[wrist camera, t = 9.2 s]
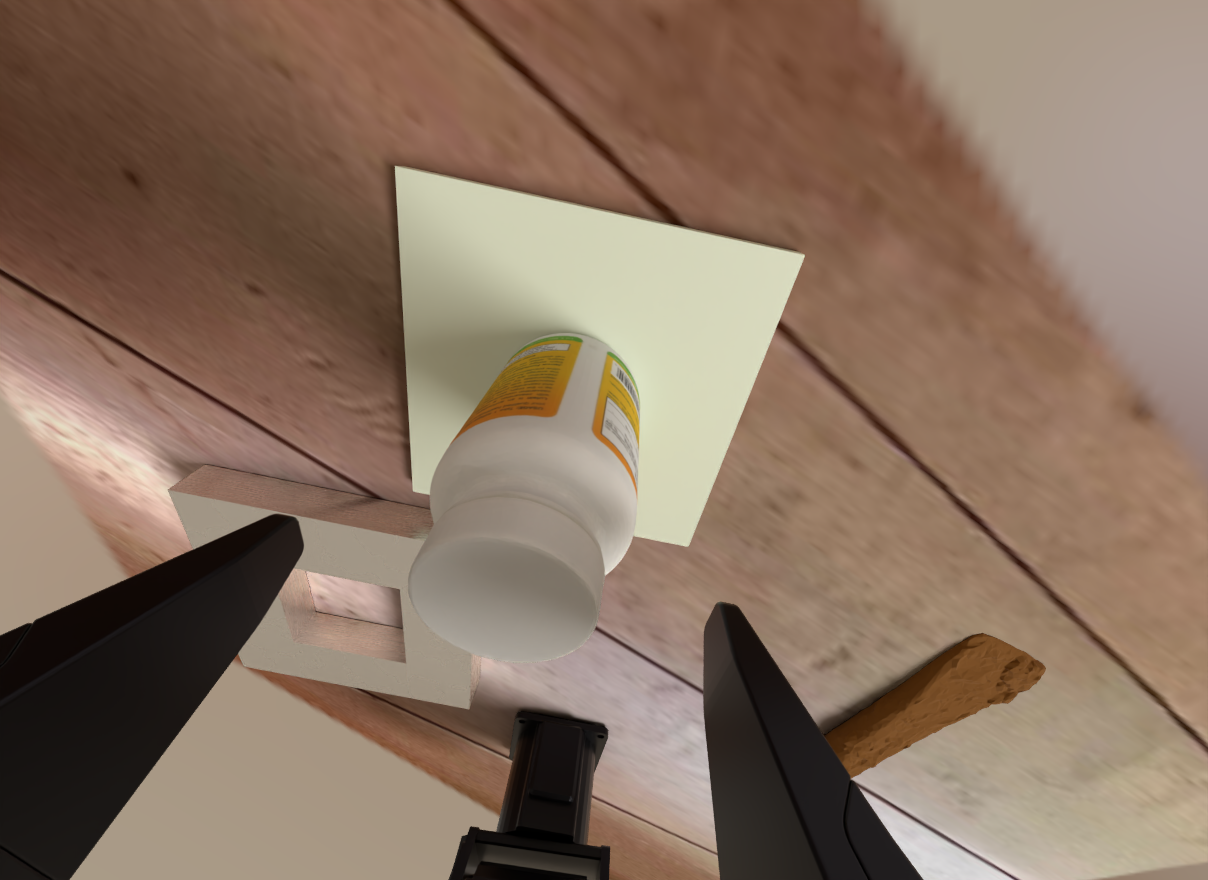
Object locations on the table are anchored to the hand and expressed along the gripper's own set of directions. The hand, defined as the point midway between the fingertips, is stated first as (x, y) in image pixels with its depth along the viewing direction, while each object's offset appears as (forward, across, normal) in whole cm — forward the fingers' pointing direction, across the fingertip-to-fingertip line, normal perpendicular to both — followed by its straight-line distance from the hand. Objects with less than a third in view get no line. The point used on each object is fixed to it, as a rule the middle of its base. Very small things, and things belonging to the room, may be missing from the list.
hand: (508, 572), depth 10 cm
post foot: (+10, +10, +15) cm, 21 cm away
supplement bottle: (+9, 0, 0) cm, 9 cm away
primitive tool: (+10, -22, +18) cm, 30 cm away
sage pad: (+10, 0, 0) cm, 10 cm away
